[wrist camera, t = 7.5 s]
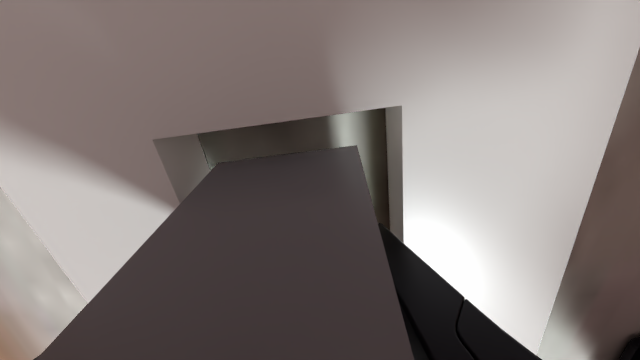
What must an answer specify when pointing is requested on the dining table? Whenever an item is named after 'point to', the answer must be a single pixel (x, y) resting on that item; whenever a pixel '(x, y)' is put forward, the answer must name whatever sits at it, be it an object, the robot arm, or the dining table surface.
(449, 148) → the socket plate
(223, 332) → the plug
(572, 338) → the dining table surface
